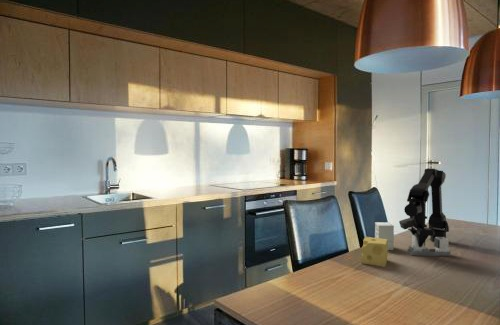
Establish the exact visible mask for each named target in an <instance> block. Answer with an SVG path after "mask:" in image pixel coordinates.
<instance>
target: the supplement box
mask: <svg viewBox="0 0 500 325" xmlns="http://www.w3.org/2000/svg"><path fill="white" fill-rule="evenodd" d="M394 228H395V226H394V225H393V224H392V223H391V222H387V221H385V222H378V221H376V222H374V238H381V239H388V251H394V249H395V248H394V240H395V238H394V232H395V230H394Z"/></svg>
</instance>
